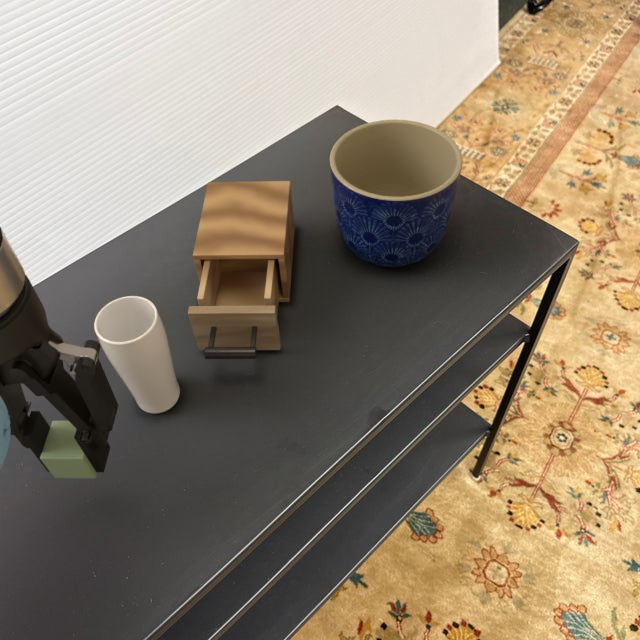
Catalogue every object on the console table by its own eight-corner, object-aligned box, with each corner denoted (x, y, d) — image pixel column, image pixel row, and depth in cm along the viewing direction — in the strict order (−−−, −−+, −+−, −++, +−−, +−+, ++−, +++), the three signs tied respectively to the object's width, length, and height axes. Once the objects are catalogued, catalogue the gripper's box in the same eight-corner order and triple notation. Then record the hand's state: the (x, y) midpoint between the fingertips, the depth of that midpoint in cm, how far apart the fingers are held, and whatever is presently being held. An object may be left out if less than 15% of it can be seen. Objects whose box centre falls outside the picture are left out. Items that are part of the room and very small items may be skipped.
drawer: (277, 379, 79) (272, 343, 73) (193, 379, 79) (181, 343, 74) (286, 272, 90) (282, 234, 85) (212, 273, 91) (203, 235, 85)
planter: (349, 296, 88) (349, 210, 76) (320, 216, 99) (315, 130, 87) (466, 272, 90) (483, 185, 78) (426, 196, 101) (435, 109, 89)
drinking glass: (133, 377, 81) (96, 298, 69) (187, 371, 81) (159, 291, 70) (129, 424, 77) (89, 348, 65) (186, 417, 77) (156, 340, 65)
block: (54, 478, 61) (39, 458, 58) (66, 441, 64) (52, 420, 61) (96, 478, 61) (82, 458, 58) (106, 441, 64) (93, 420, 61)
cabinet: (289, 302, 88) (283, 254, 81) (205, 302, 88) (192, 255, 81) (294, 229, 97) (290, 180, 90) (218, 230, 98) (208, 181, 91)
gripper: (-176, 338, 42) (-21, 494, 60) (79, 338, 42) (159, 496, 60) (-122, 258, 47) (6, 425, 65) (106, 257, 47) (173, 426, 64)
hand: (79, 459), depth 62 cm, fingers closed on block, 4 cm apart
